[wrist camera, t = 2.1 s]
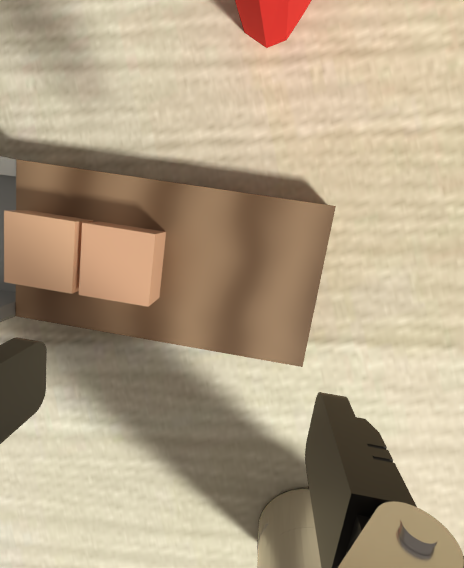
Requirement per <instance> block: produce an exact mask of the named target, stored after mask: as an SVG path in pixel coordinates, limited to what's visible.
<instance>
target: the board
mask: <svg viewBox="0 0 464 568" xmlns="http://www.w3.org/2000/svg"><path fill="white" fill-rule="evenodd" d="M16 210H29V211H36V212H42V213H49V214H55V215H62V216H68V217H74V218H81V219H87V220H93V222H99V221H100V222H106V223H113V224H119V225H126V226H132V227H138V228H145V229H151V230H158V231H164V232H166V238H165V248H164V257H163V267H162V277H161V287H160V297H159V298H158V299H157V300H156V301H155V302H154V303H152V304H151V305H150V306H149V307H147V306H141V305H135V304H129V303H123V302H118V301H112V300H106V299H100V298H94V297H88V296H82V295H79V291H77V292H75V293H72V294H71V293H65V292H59V291H53V290H47V289H41V288H36V287H30V286H24V285H18V284H16V315H15V316H18V317H24V318H30V319H35V320H41V321H46V322H52V323H58V324H63V325H69V326H75V327H80V328H86V329H92V330H97V331H103V332H109V333H114V334H120V335H126V336H131V337H137V338H143V339H148V340H154V341H159V342H165V343H171V344H176V345H182V346H188V347H193V348H199V349H205V350H210V351H216V352H222V353H227V354H233V355H239V356H244V357H250V358H256V359H261V360H267V361H272V362H278V363H284V364H289V365H295V366H301V367H302V366H303V361H304V356H305V351H306V347H307V342H308V337H309V332H310V327H311V322H312V318H313V313H314V308H315V303H316V298H317V293H318V289H319V284H320V279H321V274H322V269H323V264H324V260H325V255H326V250H327V245H328V240H329V235H330V231H331V226H332V221H333V216H334V211H335V206H331V205H324V204H317V203H311V202H304V201H297V200H290V199H283V198H276V197H270V196H263V195H256V194H249V193H242V192H235V191H229V190H222V189H215V188H208V187H201V186H195V185H188V184H181V183H174V182H167V181H160V180H154V179H147V178H140V177H133V176H126V175H119V174H113V173H106V172H99V171H92V170H85V169H78V168H72V167H65V166H58V165H51V164H44V163H37V162H31V161H24V160H17V159H16Z"/></svg>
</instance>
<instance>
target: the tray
mask: <svg viewBox="0 0 464 568" xmlns="http://www.w3.org/2000/svg"><path fill="white" fill-rule="evenodd" d="M4 210H16V159H12V158H7V157H2V156H0V322H2V321H4V320H6V319H9V318H11V317H14V316H15V315H16V284H12V283H6V282H4Z"/></svg>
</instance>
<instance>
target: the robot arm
mask: <svg viewBox="0 0 464 568" xmlns="http://www.w3.org/2000/svg"><path fill="white" fill-rule="evenodd" d="M46 353H47V352H46V346H45V344H44V343H43V342H39V341H33V340H28V339H22V338H13V339H11V340H9V341H7V342H5V343H3V344H1V345H0V444H1V443H2V442H3V441H4V440H5V439H6V438H8V437H9V436H10V435H11V434H12V433H13V432H14V431H15V430H17V429H18V428H19V427H20V426H21V425H22V424H23V423H24V422H26V421H27V420H28V419H29V418H30V417H31V416H32V415H34V414H35V413H36V412H37V410H38V409H39V408H40V406H41V404H42V402H43V399H44V396H45V391H46ZM386 448H387V447H386V445H385V443H384V441H383V439H382V437H381V435H380V433H379V432H378V431H377V430H376V429H375V428H374V427H373V426H372V425H371V424H370V423H369V422H368V421H367V420H366V419H363V418H357V417H355V414H354V412H353V410H352V407H351V405H350V403H349V400H348V398H347V397H344V396H338V395H333V394H327V393H321V392H319V393H318V395H317V397H316V401H315V405H314V410H313V414H312V419H311V424H310V428H309V433H308V437H307V442H306V451H305V464H306V471H307V478H308V484H309V489H297V490H291V491H288V492H285V493H283V494H281V495H279V496H277V497H276V498H274V499H273V500H272V501H271V502H270V503H269V504H268V505H267V506H266V507H265V509H264V510H263V512H262V514H261V517H260V520H259V529H258V543H257V549H258V563H257V568H464V556H463V553H462V551H461V548H460V546H459V544H458V543H457V541H456V540H455V538H454V537H453V535H452V534H451V533H450V532H449V531H448V530H447V528H445V527H444V526H443V525H442V524H441V523H440V522H439V521H438V520H436V519H435V518H434V517H432V516H431V515H430V514H428V513H426V512H425V511H423V510H421V509H419V508H417V506H416V504H415V502H414V501H413V499H412V497H411V495H410V493H409V491H408V489H407V487H406V485H405V483H404V481H403V479H402V477H401V475H400V473H399V471H398V469H397V467H396V465H395V463H393V459H392V457H391V455H390V453H389V451H388V450H386Z"/></svg>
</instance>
